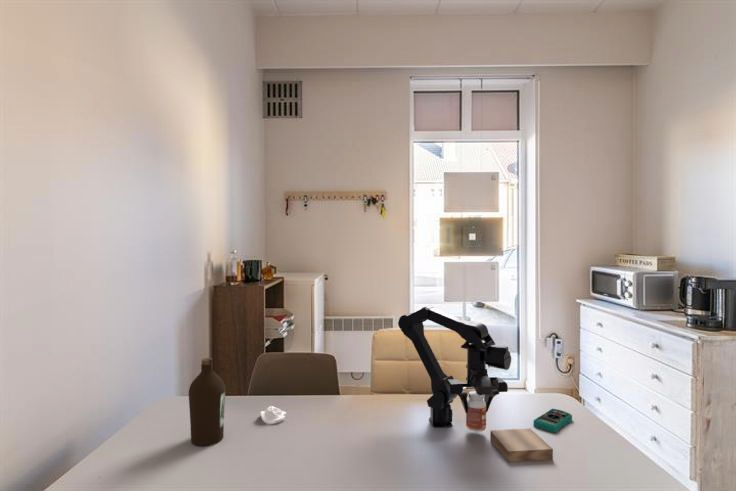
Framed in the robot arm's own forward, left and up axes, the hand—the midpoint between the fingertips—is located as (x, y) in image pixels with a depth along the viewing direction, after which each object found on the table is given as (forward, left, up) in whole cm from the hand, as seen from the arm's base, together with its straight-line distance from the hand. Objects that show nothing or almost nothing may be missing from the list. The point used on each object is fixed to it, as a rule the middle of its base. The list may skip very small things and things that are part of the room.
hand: (476, 412), depth 136 cm
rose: (-66, +18, -7) cm, 69 cm away
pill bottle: (0, 0, -5) cm, 5 cm away
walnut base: (+9, -11, -7) cm, 16 cm away
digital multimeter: (+29, +5, -8) cm, 30 cm away
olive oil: (-84, +5, -7) cm, 84 cm away
